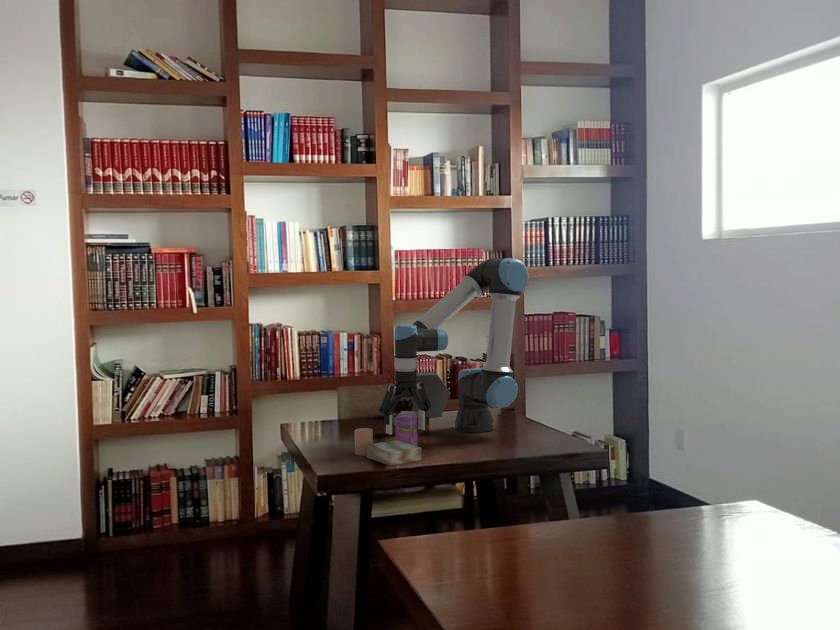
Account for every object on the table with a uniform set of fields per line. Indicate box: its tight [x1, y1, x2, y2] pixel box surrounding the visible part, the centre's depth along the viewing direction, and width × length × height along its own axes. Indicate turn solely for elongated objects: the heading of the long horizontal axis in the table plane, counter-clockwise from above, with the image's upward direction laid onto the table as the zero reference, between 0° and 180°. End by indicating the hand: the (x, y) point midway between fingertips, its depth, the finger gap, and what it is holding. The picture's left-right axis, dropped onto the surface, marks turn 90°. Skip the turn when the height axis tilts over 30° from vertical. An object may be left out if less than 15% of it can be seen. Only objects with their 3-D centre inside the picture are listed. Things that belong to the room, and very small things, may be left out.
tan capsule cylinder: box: [354, 427, 374, 457], centre depth 275 cm, size 6×6×8 cm
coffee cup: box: [391, 398, 414, 434], centre depth 306 cm, size 9×8×13 cm
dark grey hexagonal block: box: [406, 371, 451, 419], centre depth 340 cm, size 17×8×21 cm
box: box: [394, 411, 418, 446], centre depth 283 cm, size 10×6×12 cm, turn 168°
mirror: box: [366, 439, 422, 466], centre depth 268 cm, size 12×14×4 cm
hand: (405, 431), depth 283 cm, fingers open, 13 cm apart
